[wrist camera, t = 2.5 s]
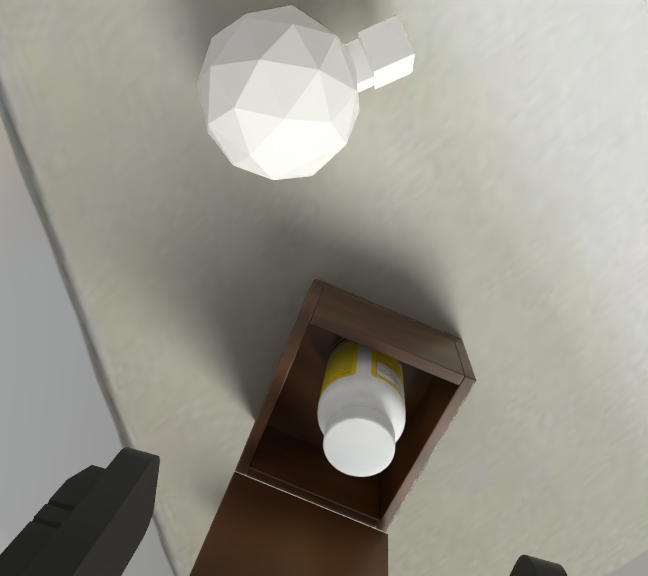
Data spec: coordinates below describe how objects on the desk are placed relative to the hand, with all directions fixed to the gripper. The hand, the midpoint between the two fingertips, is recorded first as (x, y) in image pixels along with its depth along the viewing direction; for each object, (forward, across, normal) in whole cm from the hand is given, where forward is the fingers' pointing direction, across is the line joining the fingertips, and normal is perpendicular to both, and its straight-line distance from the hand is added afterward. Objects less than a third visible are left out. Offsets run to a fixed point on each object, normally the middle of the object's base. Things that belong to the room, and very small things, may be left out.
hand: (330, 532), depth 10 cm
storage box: (+24, +2, -11) cm, 27 cm away
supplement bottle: (+24, +2, -8) cm, 25 cm away
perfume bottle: (+25, -6, +9) cm, 27 cm away
